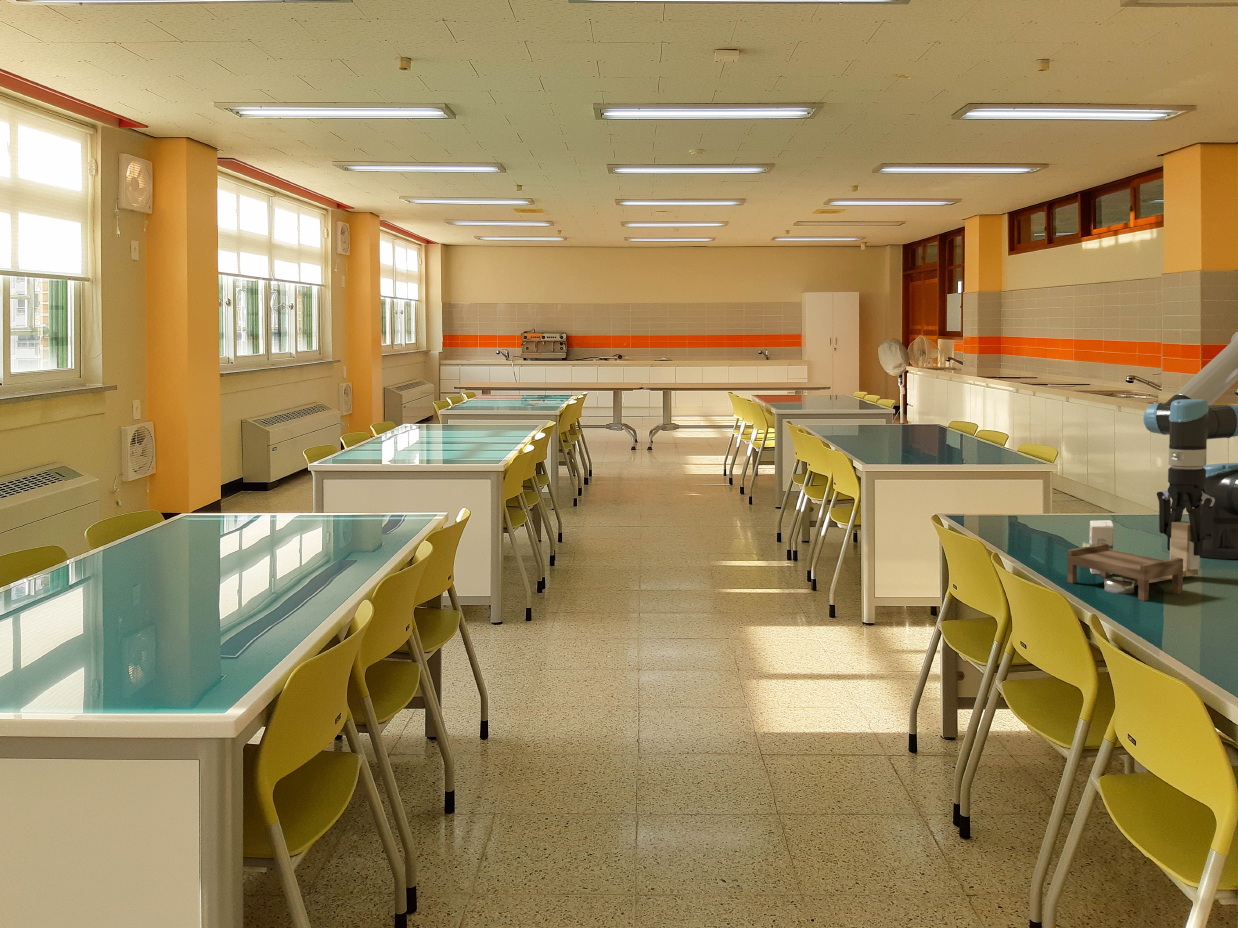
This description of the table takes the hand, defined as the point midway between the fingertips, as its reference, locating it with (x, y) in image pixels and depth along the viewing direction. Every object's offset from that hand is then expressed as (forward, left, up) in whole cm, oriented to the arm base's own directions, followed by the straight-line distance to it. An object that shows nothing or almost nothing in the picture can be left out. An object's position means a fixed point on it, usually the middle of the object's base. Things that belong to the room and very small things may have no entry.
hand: (1184, 566), depth 230 cm
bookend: (+8, 0, -2) cm, 8 cm away
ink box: (+9, -15, -3) cm, 18 cm away
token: (+21, 0, -3) cm, 21 cm away
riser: (+19, -1, -3) cm, 19 cm away
